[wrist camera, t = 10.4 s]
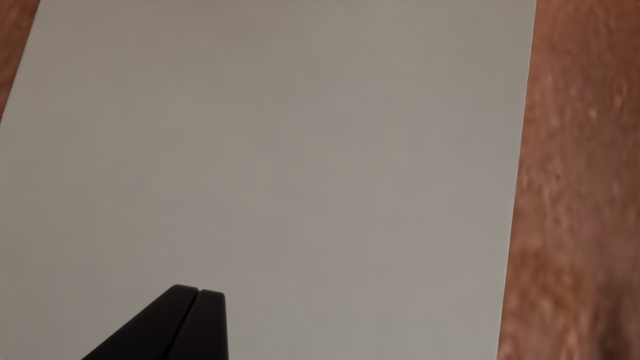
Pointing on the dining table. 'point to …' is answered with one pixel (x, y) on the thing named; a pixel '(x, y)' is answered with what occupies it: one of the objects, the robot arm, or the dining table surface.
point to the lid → (265, 173)
